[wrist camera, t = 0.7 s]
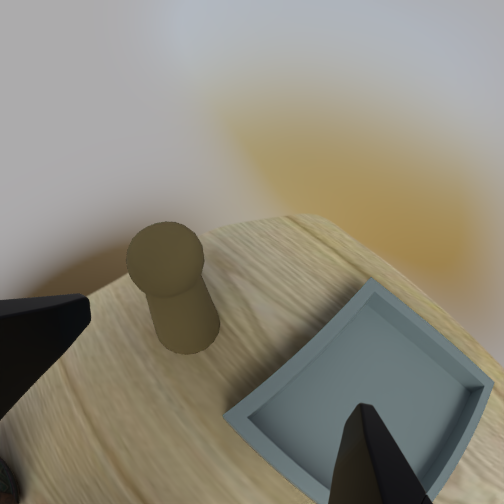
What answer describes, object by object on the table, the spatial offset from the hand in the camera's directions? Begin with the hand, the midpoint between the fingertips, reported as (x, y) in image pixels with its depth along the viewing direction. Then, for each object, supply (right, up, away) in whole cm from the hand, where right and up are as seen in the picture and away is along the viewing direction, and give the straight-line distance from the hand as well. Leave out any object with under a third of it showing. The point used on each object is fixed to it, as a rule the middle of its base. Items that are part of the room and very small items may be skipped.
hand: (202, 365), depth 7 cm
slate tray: (+12, -11, +11) cm, 20 cm away
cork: (-5, -4, +17) cm, 18 cm away
